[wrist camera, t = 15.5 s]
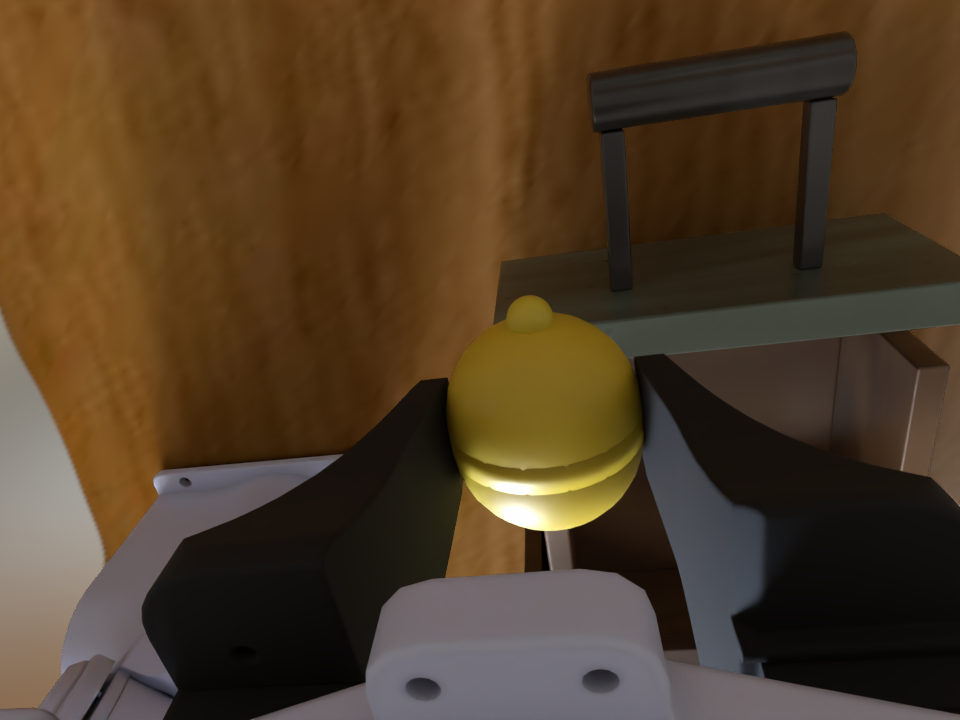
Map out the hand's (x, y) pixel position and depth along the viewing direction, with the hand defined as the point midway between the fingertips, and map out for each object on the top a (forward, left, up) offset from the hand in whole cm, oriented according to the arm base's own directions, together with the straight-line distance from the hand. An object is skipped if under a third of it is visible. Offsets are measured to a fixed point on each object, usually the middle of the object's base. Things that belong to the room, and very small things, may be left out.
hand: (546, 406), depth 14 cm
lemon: (0, 0, -1) cm, 1 cm away
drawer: (+5, -4, -9) cm, 11 cm away
